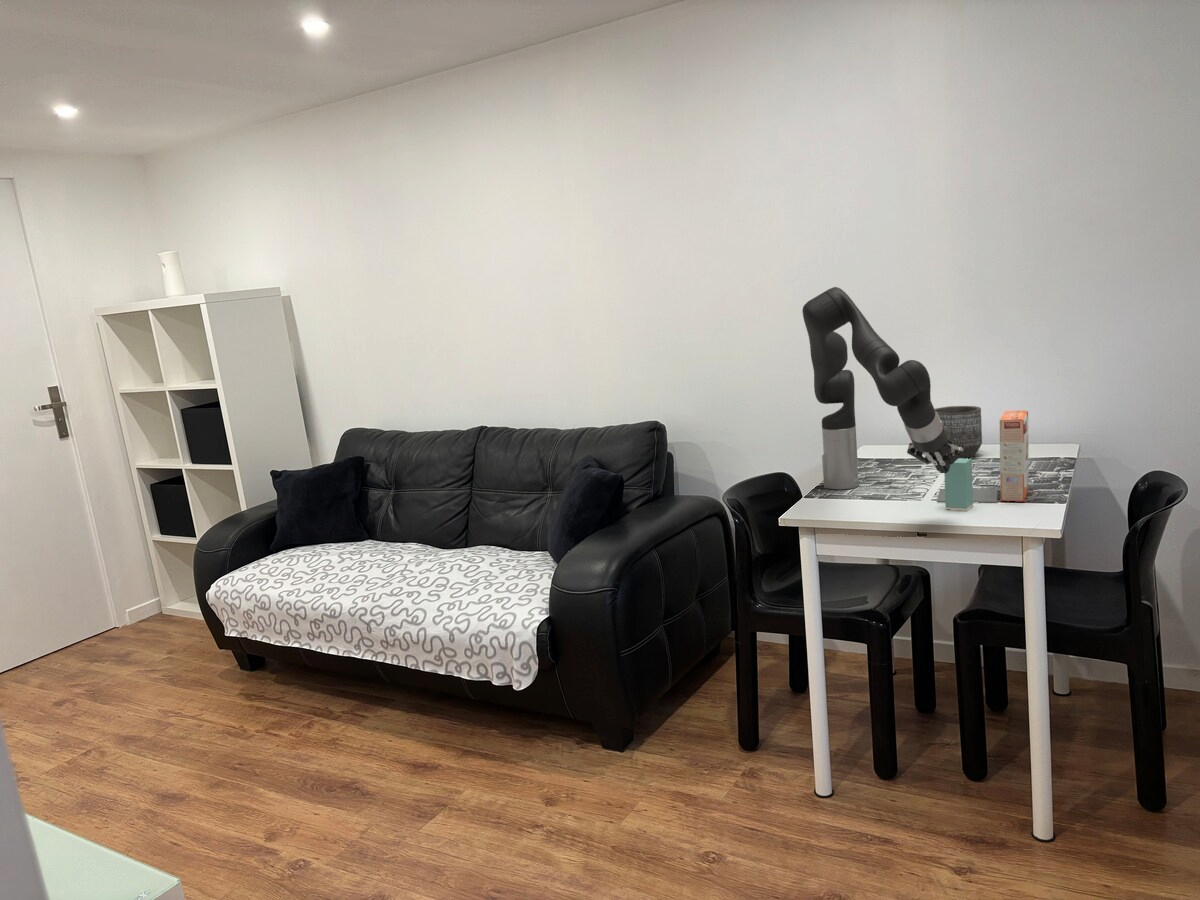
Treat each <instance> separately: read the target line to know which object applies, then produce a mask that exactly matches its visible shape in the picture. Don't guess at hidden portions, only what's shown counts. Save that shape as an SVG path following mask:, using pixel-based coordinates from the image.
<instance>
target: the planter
mask: <svg viewBox="0 0 1200 900" xmlns="http://www.w3.org/2000/svg"><path fill="white" fill-rule="evenodd" d="M934 409H935V411H936V412H937V413H938V415H939V417H940V419H941V421H942V424H943V426H944V428H945V430H946V433H947V436H948V439H949V440H951V441H952V444H953V445H956V446H958V445H959V444H962V445H964V448H963V452H962V455H961V456H960V457H959V458H963V459H967V458H969V459H973V458H974V457H975V456H976V455H977V453H978V452H979V450H980V448H981V446H982V444H983V434H982V433H983V432H982V408H981V407H980V406H976V405H956V406H955V405H951V406H950V405H949V406H942V407H939V408H938V407H936V408H934ZM951 451H952V450H950V451H949V452H948V453H947V455H949V453H950V452H951ZM972 457H973V458H972Z"/></svg>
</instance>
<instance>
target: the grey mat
mask: <svg viewBox="0 0 1200 900" xmlns="http://www.w3.org/2000/svg"><path fill="white" fill-rule="evenodd" d="M998 492H999V491H998V488H973V502H978V503H977V504H998ZM936 499H937V500H936V503H937V502H945V488H940V489H939V491H938V496H937V498H936ZM982 502H983V503H982Z"/></svg>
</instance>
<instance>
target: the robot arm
mask: <svg viewBox="0 0 1200 900" xmlns="http://www.w3.org/2000/svg"><path fill="white" fill-rule="evenodd" d="M801 311H802V318H803V323H804V325H805V328H806V331H807V336H808V340H809V341H808V342H809V350H810V357H811V359H810V360H811V363H812V368H813V388H814V389H813V390H814V394H815V395H814V396H815V399H816V400H817V401H818V403H820V404H824V405H830V404H831V405H832V404H833V405H835V404H842V406H841V408H839V409H838V410H836V411H835V412H833V413H831V414H828V415H826V416H823V418H822V419H821V431H822V434H821V435H822V446H823V447H822V448H823V449H822V450H823V455H822V456H821V458H822V459H821V460H822V477H823V480H822V481H823V488H824V489H830V490H849V489H855V488H857V487H859V485H860V484H859V483H860V481H859V478H860V477H859V465H858V444H857V442H858V441H857V425H856V412H855V411H856V410H855V409H856V408H855V394H856V393H855V389H856V387H855V377H854V374H853V371H851V370H850V369H844V368H845V367H846V365H847V362H848V345H847V344H848V343H847V341H846V339H845V338H844V337H843V336H842V335H841V334H839V333H838V332H837V331H836V330H838V329H840V328H841V327H843V326H845V325H847V324H848V323H850V325H851V350H852V353H853V356H854V358H855V359H856V361H857V362H858V363H859V364H860V365H861V366H862V367H863V368H864V369H865V370H866V372H867V373H869V375H870V376H871V378H872V379H873V381H874V383H875V386H876V389H877V390H878V393H879V396H880V397H881V398H880V399H882V400H883V402H884V403H885V404H887V405H889V406H891V407H896V408H897V412H898V414H899V416H900V418H901V420H902V422H903V425H904V429H905V431H906V433H907V435H908V437H909V439H910V441H911V442H910V443H908V447H907V450H906V453H907V454H908V455H910V456H912V457H913V458H915V459H916V460H919V461H920V462H923V463H925V464H930V463H931V464H932V465H933V466H934V467H935V468H936V471H938V472H939V474H944V473H947V472H948V471H949V469H950V465H951V464H953V463H954V462H955V461H956V460H957V459H958V458H959V457H960V456H961V455H962V452H963V448H964V445H962V444H959V445H958V446H956V445H953V444H952V441H951V440H949V439H948V436H947V433H946V430H945V428H944V426H943V424H942V421H941V419H940V417H939V415H938V413H937V412H936V411H935V409H936V408H935V407H934V405H933V403H932V400H931V399H932V398H931V377H930V374H929V372H928V370H927V368H926V366H925V365H924V364H923V363H922V362H920V361H918V360H916V359H909V360H906V361H904V362H902V363H901V364H900V356H899V355H898V353H897V352H896V351H895V350H894V349H893V348H892V347H891V346H890V345H889V344H888V343H887V342H886V341H885V340H884V339H882V338H881V336H880V335H879V334H878V333H877V332H876V330H874V328H873V327H872V326H871V324H870V321H868V319H866V317H865V316H864V314H863V313H862V312H861V310H860V309H859V308H858V306H857V305H856V304H855V302H854V301H853V299H852V298H851V297H850V296H849V295H848V293H846V291H844V290H843V289H842V288H840V287H838V286H833V287H831V288H828V289H827V290H825V291H823V292H822V293H819V294H818V295H817V296H815V297H813V298H811V299H810V300H808V301H807V302H805V304H804V305H803V307H802V310H801ZM950 450H952V451H951V452H950V453H949V455H947V453H948V452H949V451H950ZM923 455H924V456H923Z"/></svg>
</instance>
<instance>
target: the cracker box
mask: <svg viewBox="0 0 1200 900" xmlns="http://www.w3.org/2000/svg"><path fill="white" fill-rule="evenodd" d="M999 472H1000V473H999V475H1000V476H999V484H1000V485H999V486H1000V498H999V499H1000V501H1001V502H1010V501H1015V503H1017V502H1018V503H1022V502H1023V503H1025V502H1026V497H1027V494H1028V491H1029V410H1005V411H1003V413H1002V415H1001V417H1000V419H999Z"/></svg>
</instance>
